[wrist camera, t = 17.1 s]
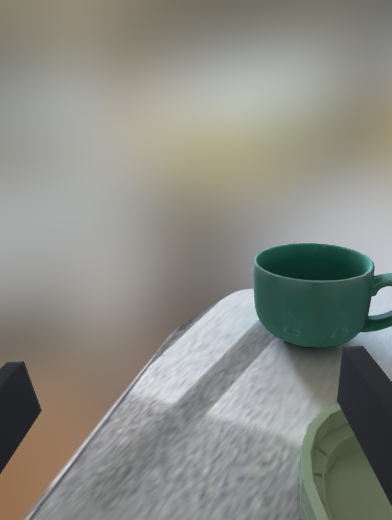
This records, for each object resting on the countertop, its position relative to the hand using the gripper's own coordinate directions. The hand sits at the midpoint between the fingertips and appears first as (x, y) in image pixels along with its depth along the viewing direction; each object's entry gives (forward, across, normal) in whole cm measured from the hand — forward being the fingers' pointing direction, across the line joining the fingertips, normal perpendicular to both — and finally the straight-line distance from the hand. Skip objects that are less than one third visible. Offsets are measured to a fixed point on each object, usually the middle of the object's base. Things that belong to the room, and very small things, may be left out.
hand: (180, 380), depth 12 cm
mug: (+20, +14, -13) cm, 28 cm away
